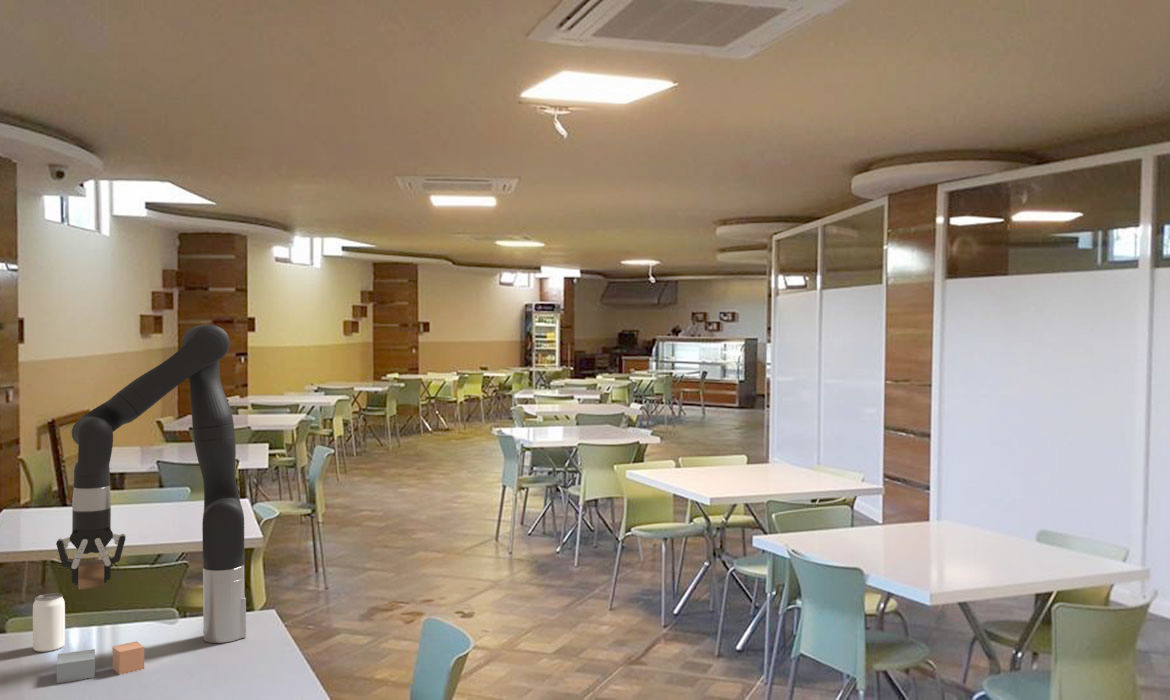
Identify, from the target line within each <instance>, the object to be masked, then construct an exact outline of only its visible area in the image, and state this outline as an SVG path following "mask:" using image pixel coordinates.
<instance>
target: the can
mask: <svg viewBox="0 0 1170 700" xmlns="http://www.w3.org/2000/svg"><path fill="white" fill-rule="evenodd" d="M63 596H64V595H63V594H62V593H56V592H55V593H45V594H40V595H37V596H35V597H34V602H33V604H32V641H33V642H32V649H33V651H35V652H37V653H48V652H55V651H58V650H61V649H62V648H64V646H65V645H66V604H65V603H66V602H65V599H64V598H63Z"/></svg>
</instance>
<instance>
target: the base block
mask: <svg viewBox="0 0 1170 700" xmlns="http://www.w3.org/2000/svg"><path fill="white" fill-rule="evenodd" d="M95 652H96V649H95V648H92V649H87V650H86V649H85V650H79V651H72V652H65V653H58V654H57V660H56V684H61V683H68V682H74V681H76V682H77V681H80V680H81V681H82V680H88V679H87V678H89V679H94V677H96V655H95Z"/></svg>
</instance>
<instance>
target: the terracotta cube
mask: <svg viewBox="0 0 1170 700" xmlns="http://www.w3.org/2000/svg"><path fill="white" fill-rule="evenodd" d="M112 669H114V672H115V673H117V672H118V673H119V674H122V675H125V674H124V673H126V674H129V673H128V672H130V673H134V672H133V671H135V672H138V671H137V670H139V671H142V670H141V669H144V670H145V646H144V645H143V644H141V643H140V642H139V641H138V640H136V641H132V642H127V643H123V644H117V645H114V646H112ZM118 673H117V674H118ZM119 674H118V675H119Z"/></svg>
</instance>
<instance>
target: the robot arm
mask: <svg viewBox="0 0 1170 700" xmlns="http://www.w3.org/2000/svg"><path fill="white" fill-rule="evenodd" d="M229 349H230V337H229V335H228V332H226V330H224V329H223V328H221V327H219V326H217V325H214V324H202V325H196V326H195V325H194V326H193V327H191V328H189V329H188V330H187V331H186V332H185V333H184V335H183V336H182V339H181V348H179V349H178V350H177V351H176V352H175V353H173V354H172V355H171V356H170V357H169V358H167V359H166V360H164V361H163V362H161V363H159V364H158V365H156V366H155V367H154V368H152V369H150V370H148V371H146V372H145V373H144V374H141V375H139V377H137V378H136V379H134V380H133V381H131V382H130V383H128V384H127V385H126V386H124V387H123V388H122V389H120V390H119V391H118V392H117V393H115V394H114V395H113V396H112V397H111V398H109V399H108V400H107V401H105V402H103V403H101V404H100V405H98V406H96V407H95V408H93V409H92V410H90V411H88V412H87V413H85V414H84V415H82V416H81V417H80V418H78V420H77V421H76V422H75V423H74V425H72V428H71V437H72V440H73V441H74V443H75V444H76V445H78V447H77V449H78V450H77V462H76V463H75V466H74V468H73V469H74V471H73V491H72V492H73V493H72V503H71V508H72V509H71V510H72V516H71V517H72V524H71V525H72V526H71V528H72V531H71V534H70V535H69V537H65V538H58V539H57V540H56V543H55V544H56V548H57V552H58V555H59V558H60V562H61V566H62V567H63V568H70V569H71V583H72V584H74V585H75V586H78V566H79V562H80V561H81V559H82V557H83V555H86V554H87V555H88V554H91V553H94V554H99V555H100V557H101V560H103V561H104V564H105V565H104V584H108V581H110V580H111V578H112V565H113V564H115V563H119V562H120V559H121V556H122V553H123V549H124V546H125V543H126V534H124V533H121V534H118V533H113V531H112V528H111V527H112V525H111V523H112V522H111V520H112V518H111V517H112V516H111V515H112V513H111V512H112V510H111V507H112V498H111V497H112V495H111V487H110V485H111V484H110V482H111V480H110V479H111V477H110V476H111V475H110V474H111V473H110V470H111V469H110V462H111V457H112V452H113V444H114V432H115V431H116V430H118V429H119V428H121V427H122V426H124V425H126V424H129V423H132V422H133V421H135V420H136V419H138V418H139V417H140V416H142V414H144V413H145V412H147V410H149V409H151V408H152V407H153V406H154V405H155V404H156V403H158V402H159V401H160V400H161V399H163V398H164V397H165V396H167V395H168V394H169V393H170V392H171V391H172V390H174V389H175V388H176V387H178V386H180V385H181V384H182V383H183V382H185V381H186V380H187V379H188V383H189V395H190V396H189V397H190V412H191V413H190V414H191V423H192V433H193V443H194V448H195V454H196V459H197V461H198V465H199V469H200V472H201V476H202V480H203V500H204V501H203V513H202V528H201V529H202V585H203V587H202V593H203V595H202V596H203V597H202V599H203V602H202V603H203V604H202V607H203V609H202V610H203V615H202V616H203V628H202V629H203V630H202V631H203V641H205V643H206V642H207V643H212V644H218V643H219V644H221V643H229V642H234V641H237V640H241V639H245V638H247V603H246V602H247V598H246V596H245V514H244V510H243V507H242V504H241V500H240V495H239V490H238V485H237V480H236V457H237V456H236V453H237V451H236V445H237V444H236V433H235V424H234V417H233V413H232V410H231V407H230V403H229V401H228V398H227V396H226V394H225V391H224V388H223V385H222V384H223V383H222V380H221V371H220V369H221V368H220V360H222V359H223V358H224V357H225V356H226V355H227V353H228V351H229ZM112 539H113V541H114V544H115V545H116V547H115V548H116V549H115V552H114V555H113V556H112V557H110V554H109V552H108V550H107V546H108V545H109V543H110V542H111V541H112ZM69 543H71V544H72V545H73V547H74V548H76V549H77V550H76V552H75V556H74V558H73V559H72V560H71V559H69V557H68V554H67V548H69V547H68V546H69Z"/></svg>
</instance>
